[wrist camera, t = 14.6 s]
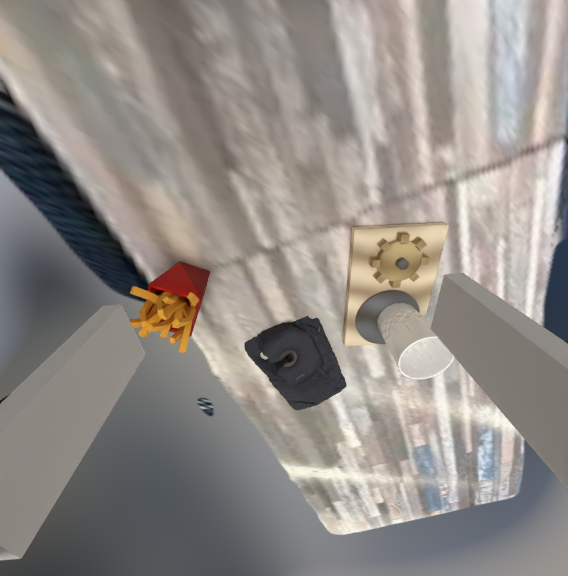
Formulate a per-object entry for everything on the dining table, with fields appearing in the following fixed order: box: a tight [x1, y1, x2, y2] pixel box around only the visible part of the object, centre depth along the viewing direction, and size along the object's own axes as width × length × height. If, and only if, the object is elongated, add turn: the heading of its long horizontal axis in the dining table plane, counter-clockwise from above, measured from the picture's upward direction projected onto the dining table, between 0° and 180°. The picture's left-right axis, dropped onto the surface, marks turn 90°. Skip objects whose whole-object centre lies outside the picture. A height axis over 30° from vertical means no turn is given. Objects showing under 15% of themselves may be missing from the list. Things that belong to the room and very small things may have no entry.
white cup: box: [377, 303, 454, 379], centre depth 40 cm, size 8×8×10 cm
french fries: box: [129, 262, 210, 353], centre depth 34 cm, size 9×8×15 cm
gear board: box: [343, 222, 449, 346], centre depth 42 cm, size 22×14×4 cm, turn 2°
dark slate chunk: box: [245, 316, 346, 410], centre depth 50 cm, size 15×22×5 cm
